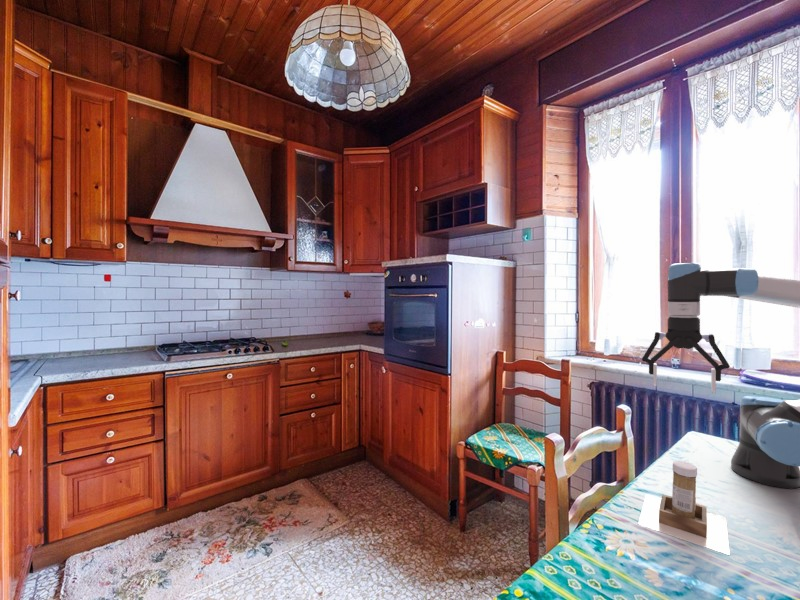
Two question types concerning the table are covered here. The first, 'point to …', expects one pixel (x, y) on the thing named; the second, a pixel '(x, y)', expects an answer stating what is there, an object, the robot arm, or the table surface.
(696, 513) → the collar
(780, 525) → the table surface
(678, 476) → the sprinkles bottle
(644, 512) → the tile
